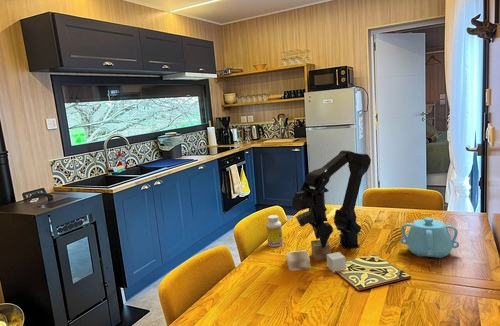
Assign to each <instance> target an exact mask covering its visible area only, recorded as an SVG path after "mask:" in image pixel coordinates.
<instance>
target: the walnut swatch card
mask: <svg viewBox="0 0 500 326" xmlns="http://www.w3.org/2000/svg"><path fill="white" fill-rule="evenodd" d="M301 251H307V250H306V249H304V250H303V249H302V250H293V251H292V252H301ZM290 252H291V251H289V252H288V253H290ZM308 256H309V258H310V255H309V254H308Z"/></svg>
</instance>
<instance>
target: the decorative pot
mask: <svg viewBox="0 0 500 326" xmlns="http://www.w3.org/2000/svg"><path fill="white" fill-rule="evenodd" d="M406 227H410V228H409V230H408V233H406V231H405V228H406ZM448 229H451V230H453V231H454V234H453V237H451V233H450V231H449V230H448ZM401 233H402V235H403V237H401V238H400V244H402V245H404V246H405V245H406V246H407V248H408V249H409V251H410V252H411V253H412V254H413V255H416V257H421V258H422V257H433V258H436V259H443V258H444V257H448V256H449V255H450V253H451V252H452V250H453V249H458V248H459V247H460V242H459V241H457V240H456V239H457V237H458V235H459V231H458V228H457V227H456V226H454V225H451V224H447V225H446V224H445V223H444V222H443V221H442V220H439V219H434V218H432V217H424V218H423V219H415V220H414V221H413V222H412V223H411V222H407V223H404V224H403V225H402V226H401ZM404 240H405V241H404ZM455 244H456V245H455Z"/></svg>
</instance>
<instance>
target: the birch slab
mask: <svg viewBox="0 0 500 326" xmlns="http://www.w3.org/2000/svg"><path fill="white" fill-rule="evenodd" d="M300 251H301V252H293V251H289V252H290V253H289V252H286V253H285V254H286V256H285V257H286V264H287V268H288V271H289V272H292V271H293V272H295V271H305V270H311V259H310V258H309V257H310V255H309V253H308V251H307V250H306V251H302V250H300ZM308 255H309V256H308Z"/></svg>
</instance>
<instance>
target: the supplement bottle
mask: <svg viewBox="0 0 500 326" xmlns="http://www.w3.org/2000/svg"><path fill="white" fill-rule="evenodd" d="M265 225H266V227H265V228H266V238H267V245H268V246H269V247H272V248H273V247H274V248H276V247H277V248H278V247H281V246H282V245H283V244H284V239H283V229H282V223H281V221H279V215H276V214H271V215H268V216H267V222H266V224H265Z"/></svg>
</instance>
